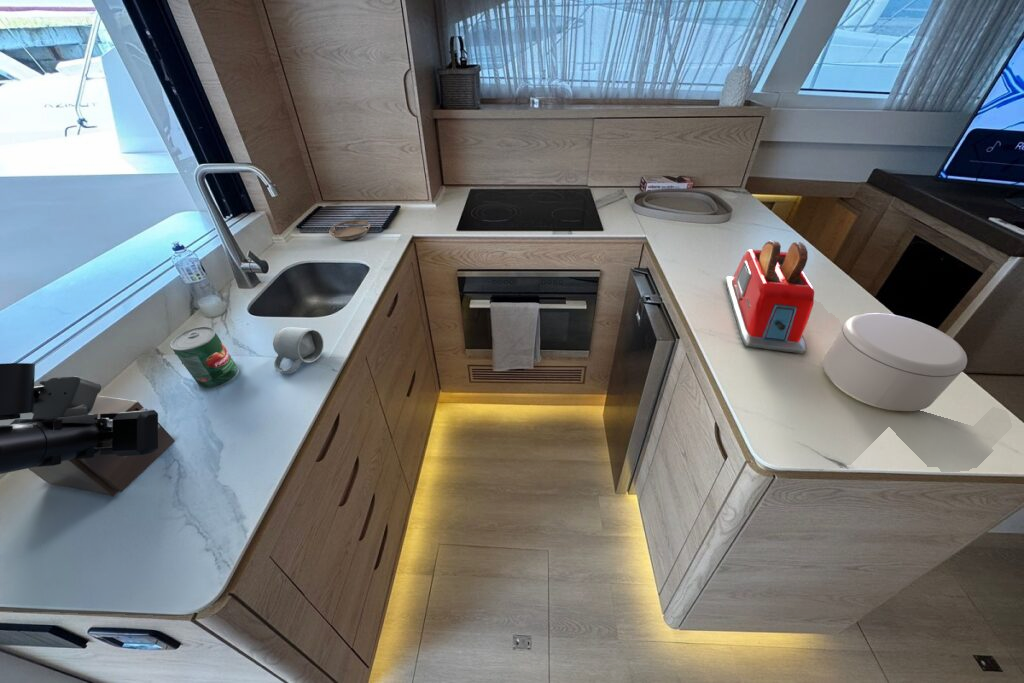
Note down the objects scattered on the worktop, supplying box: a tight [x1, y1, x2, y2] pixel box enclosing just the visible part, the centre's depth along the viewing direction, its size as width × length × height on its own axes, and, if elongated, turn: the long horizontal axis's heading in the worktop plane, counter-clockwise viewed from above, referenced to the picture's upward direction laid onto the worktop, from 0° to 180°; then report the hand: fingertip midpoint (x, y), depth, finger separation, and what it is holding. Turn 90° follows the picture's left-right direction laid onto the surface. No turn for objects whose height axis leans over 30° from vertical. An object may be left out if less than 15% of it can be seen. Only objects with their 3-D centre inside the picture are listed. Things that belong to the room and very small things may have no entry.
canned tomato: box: [169, 326, 240, 390], centre depth 84 cm, size 8×8×11 cm
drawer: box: [78, 408, 176, 493], centre depth 66 cm, size 17×10×9 cm, turn 79°
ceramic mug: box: [272, 326, 325, 375], centre depth 88 cm, size 11×8×8 cm
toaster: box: [725, 240, 815, 354], centre depth 94 cm, size 32×13×19 cm, turn 164°
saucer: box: [328, 219, 371, 241], centre depth 147 cm, size 15×15×3 cm
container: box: [822, 312, 968, 412], centre depth 76 cm, size 18×18×12 cm
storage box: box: [27, 395, 145, 497], centre depth 67 cm, size 14×12×11 cm
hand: (138, 427), depth 65 cm, fingers closed
